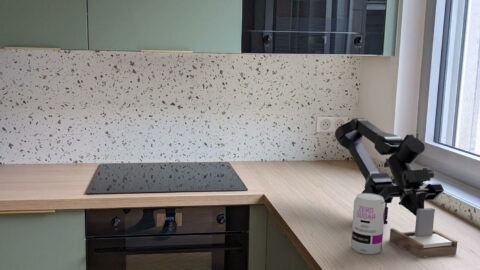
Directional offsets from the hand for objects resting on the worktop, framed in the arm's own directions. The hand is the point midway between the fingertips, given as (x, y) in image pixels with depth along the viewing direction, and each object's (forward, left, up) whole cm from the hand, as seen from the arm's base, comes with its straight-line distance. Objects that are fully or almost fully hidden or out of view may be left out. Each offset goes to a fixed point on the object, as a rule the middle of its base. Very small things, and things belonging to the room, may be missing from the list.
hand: (422, 219), depth 148 cm
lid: (+1, -3, -5) cm, 6 cm away
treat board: (0, -1, -8) cm, 8 cm away
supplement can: (-17, -2, -8) cm, 19 cm away
